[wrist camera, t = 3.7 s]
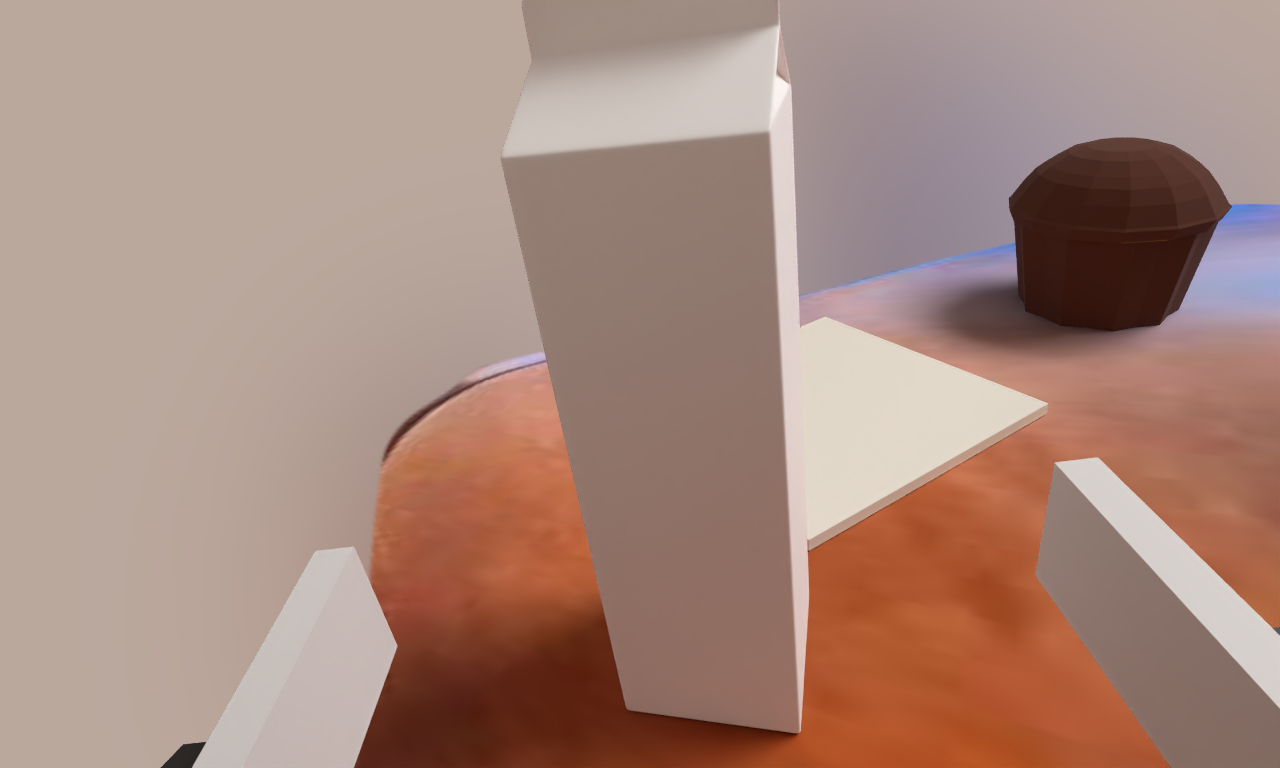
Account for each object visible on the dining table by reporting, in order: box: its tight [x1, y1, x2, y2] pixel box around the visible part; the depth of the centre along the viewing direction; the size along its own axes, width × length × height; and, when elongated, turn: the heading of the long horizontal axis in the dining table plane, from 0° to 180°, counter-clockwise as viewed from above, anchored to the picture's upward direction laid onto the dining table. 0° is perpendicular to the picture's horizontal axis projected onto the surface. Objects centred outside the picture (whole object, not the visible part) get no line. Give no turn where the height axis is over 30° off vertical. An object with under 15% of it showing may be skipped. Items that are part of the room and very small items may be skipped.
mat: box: [800, 317, 1048, 551], centre depth 39 cm, size 16×16×1 cm
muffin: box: [1009, 138, 1232, 331], centre depth 44 cm, size 12×11×10 cm
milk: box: [501, 0, 809, 733], centre depth 21 cm, size 6×6×22 cm
